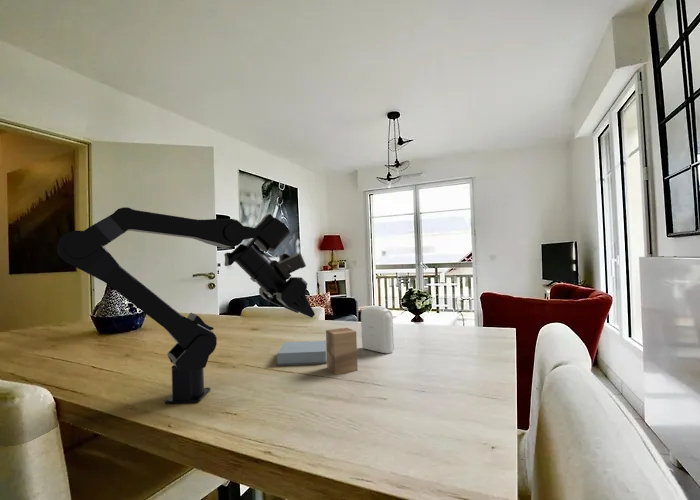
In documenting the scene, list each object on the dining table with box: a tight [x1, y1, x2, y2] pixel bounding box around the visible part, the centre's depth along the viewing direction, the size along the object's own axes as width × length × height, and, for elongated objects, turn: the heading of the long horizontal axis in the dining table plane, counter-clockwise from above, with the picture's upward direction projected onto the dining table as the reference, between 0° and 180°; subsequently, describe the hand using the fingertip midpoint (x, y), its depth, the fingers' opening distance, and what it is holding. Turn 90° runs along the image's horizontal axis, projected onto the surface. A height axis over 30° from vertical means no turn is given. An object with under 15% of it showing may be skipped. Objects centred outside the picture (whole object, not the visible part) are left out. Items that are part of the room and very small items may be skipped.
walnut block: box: [325, 327, 359, 375], centre depth 86 cm, size 6×6×9 cm
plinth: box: [276, 340, 327, 367], centre depth 97 cm, size 12×12×3 cm
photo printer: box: [360, 305, 395, 354], centre depth 102 cm, size 10×4×12 cm, turn 39°
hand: (305, 313), depth 85 cm, fingers open, 9 cm apart
